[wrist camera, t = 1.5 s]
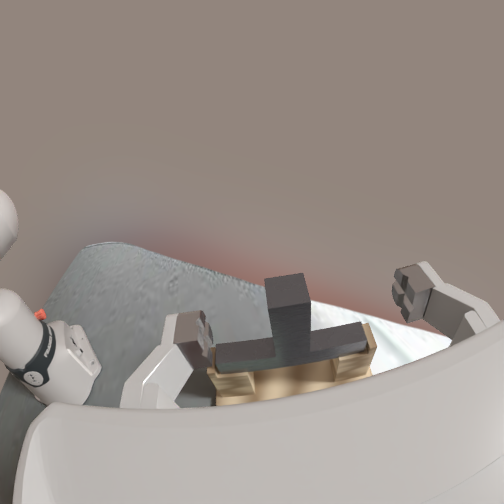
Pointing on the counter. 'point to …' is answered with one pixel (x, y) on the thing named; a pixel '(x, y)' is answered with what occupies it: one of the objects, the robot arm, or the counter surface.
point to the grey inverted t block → (290, 334)
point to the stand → (291, 377)
